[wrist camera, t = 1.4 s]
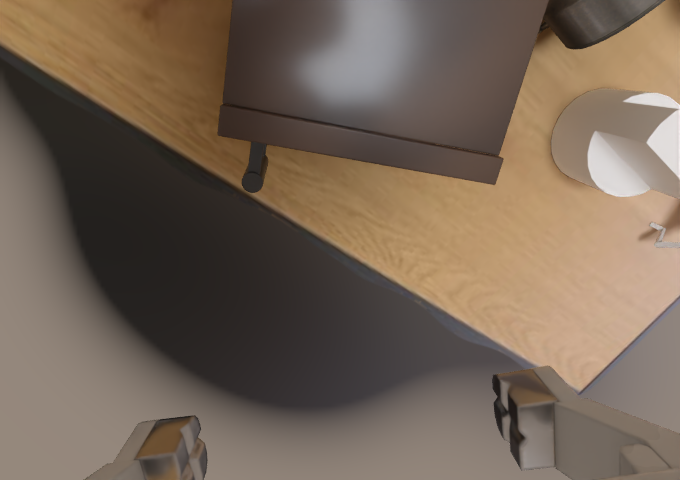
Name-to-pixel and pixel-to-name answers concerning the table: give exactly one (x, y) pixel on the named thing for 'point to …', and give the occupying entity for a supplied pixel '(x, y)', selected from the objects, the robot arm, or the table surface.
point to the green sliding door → (257, 166)
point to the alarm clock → (592, 19)
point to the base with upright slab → (620, 142)
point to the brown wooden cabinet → (380, 79)
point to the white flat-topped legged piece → (660, 237)
